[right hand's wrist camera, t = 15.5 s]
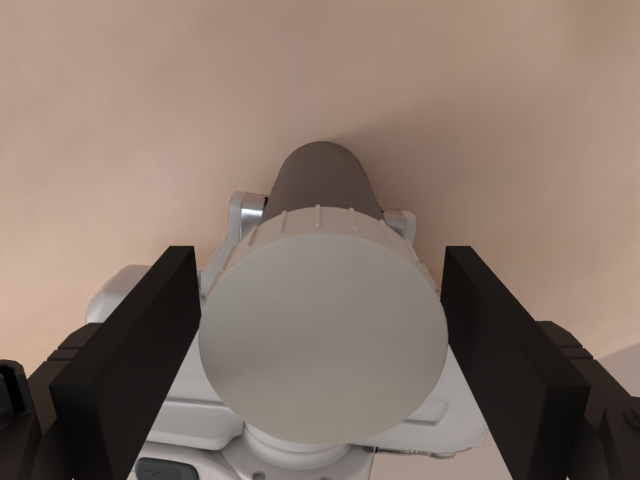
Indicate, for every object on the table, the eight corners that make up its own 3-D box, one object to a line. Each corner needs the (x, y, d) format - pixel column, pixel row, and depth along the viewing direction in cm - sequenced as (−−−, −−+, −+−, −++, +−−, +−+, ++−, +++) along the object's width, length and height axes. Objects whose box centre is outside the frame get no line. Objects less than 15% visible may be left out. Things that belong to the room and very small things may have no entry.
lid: (180, 341, 13) (155, 388, 11) (279, 159, 11) (270, 178, 9) (356, 422, 14) (362, 479, 12) (475, 271, 12) (504, 309, 10)
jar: (262, 201, 26) (186, 370, 11) (305, 124, 24) (281, 204, 10) (337, 242, 27) (356, 447, 12) (383, 170, 25) (468, 307, 11)
